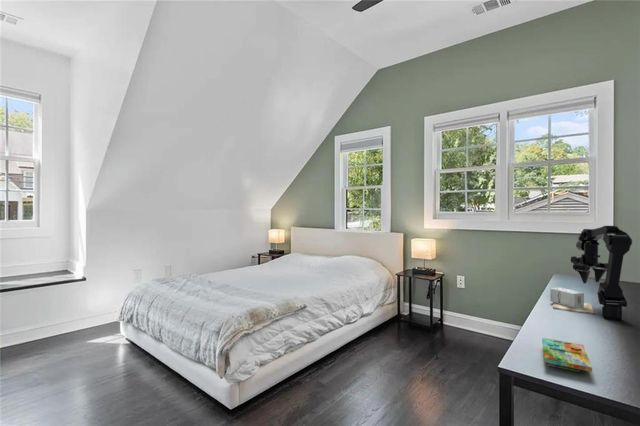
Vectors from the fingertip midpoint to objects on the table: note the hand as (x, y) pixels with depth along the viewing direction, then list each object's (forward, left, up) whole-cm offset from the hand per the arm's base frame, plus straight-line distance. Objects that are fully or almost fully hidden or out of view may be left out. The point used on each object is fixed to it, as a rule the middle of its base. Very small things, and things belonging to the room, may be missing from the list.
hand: (590, 282), depth 172 cm
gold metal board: (+8, +8, -12) cm, 16 cm away
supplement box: (+5, +11, -8) cm, 14 cm away
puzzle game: (+12, +87, -13) cm, 88 cm away
